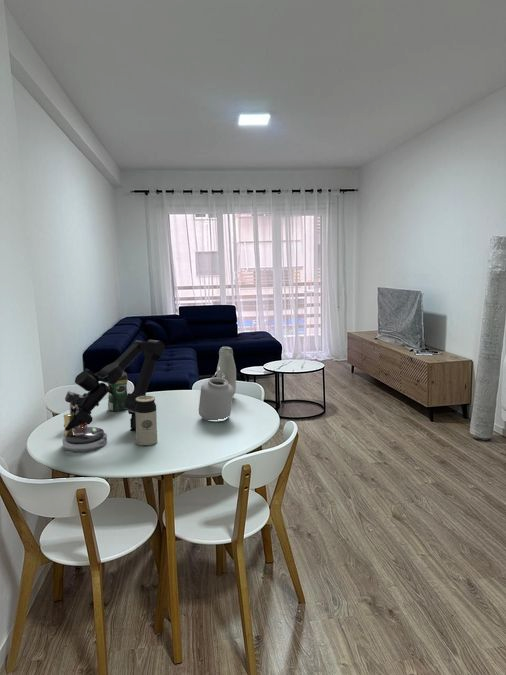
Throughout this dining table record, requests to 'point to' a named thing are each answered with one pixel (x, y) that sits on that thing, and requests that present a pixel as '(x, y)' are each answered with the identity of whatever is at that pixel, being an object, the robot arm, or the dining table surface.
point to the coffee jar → (118, 394)
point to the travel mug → (146, 420)
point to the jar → (215, 399)
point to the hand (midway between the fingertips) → (65, 428)
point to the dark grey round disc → (85, 445)
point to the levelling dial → (82, 433)
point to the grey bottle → (227, 367)
